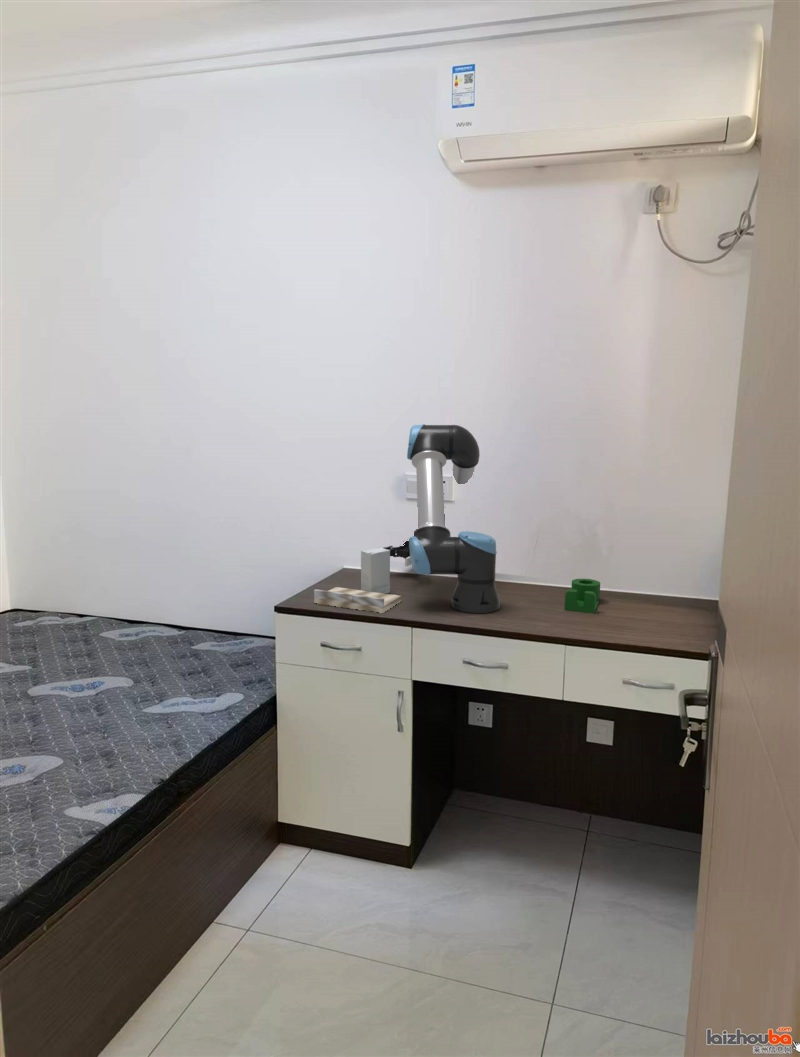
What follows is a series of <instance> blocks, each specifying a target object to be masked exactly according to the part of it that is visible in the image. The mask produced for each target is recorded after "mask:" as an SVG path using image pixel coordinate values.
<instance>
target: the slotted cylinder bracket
mask: <svg viewBox="0 0 800 1057" xmlns="http://www.w3.org/2000/svg"><path fill="white" fill-rule="evenodd" d="M600 593H601V582H600V581H599V580H596V579H590V578H575V579H572V580H571V588H570V589H567V591H566V592H565V595H564V611H569V612H577V613H585V614H592V615H593V614H595V613H596V611H597V609H598V606H599V604H600V596H601V595H600Z"/></svg>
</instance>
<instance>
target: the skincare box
mask: <svg viewBox="0 0 800 1057" xmlns="http://www.w3.org/2000/svg"><path fill="white" fill-rule="evenodd" d="M360 590H362V591H369V592H377V593H384V594H389V593H391V556H390V550H387V549H384V547H381V546H379V547H373V548H369V549H368V548H367V549H363V550H360Z"/></svg>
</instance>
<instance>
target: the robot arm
mask: <svg viewBox="0 0 800 1057" xmlns="http://www.w3.org/2000/svg"><path fill="white" fill-rule="evenodd" d="M480 455H481V454H480V447H479V445H478V441H477V439H476V438H475V437H474V435H473V434H472V433H471V432H470V431H469V430H468V429H467V428H465V427H463V426H461V425H457V424H447V425H446V424H425V423H423V424H413V425H412V426H411V427H410V430H409V436H408V445H407V452H406V458H407V460H410V461H411V464H412V466H413V467H414V468H416V469H415V470H416V471H415V472H416V494H417V495H416V499H417V500H416V503H417V507H418V529H416V530H415V531H414V536H413V535H412V536H410V537H409V538H408V539H409V541H406V542H405V543H404V544H405V545H404V544H403V545H404V546H400V545H399V546H395V547H394V546H393V545H389V546H385V547H383V548H384V549H387V550H390V557H393V558H403V559H404V566H405V567H410V566H411V568H412V570H413V572H414V573H415V574H418V575H426V576H431V575H432V576H433V575H457V583H456V586H455V589H454V591H453V594H452V597H451V603H450V604H451V605H450V606H451V607H452V608H453V609H454V610H457V611H460V612H464V613H470V614H471V613H472V614H487V613H492V612H496V611H498V610H500V608H501V606H500V605H501V601H500V596H499V592H498V590H497V586H496V562H497V560H496V559H497V558H496V557H497V554H498V553H497V552H498V551H497V542H496V539H495V537H492V536H491V535H488V534H484V533H480V532H478V531H477V532H475V531H459V533H458V536H451V531H450V529H449V528H446V527H445V514H444V508H445V498H444V495H445V494H444V493H445V492H444V479H443V478H444V476H443V475H444V474H443V467H445V465H446V464H447V461H449V460H450V461H451V463H452V471H453V476H454V478H455V480H456V482H457V483H458V484H465V483H467V482H468V480H469V479H470V478H471V477H472V475H473V472H474V473H475V468H476V466H478V464H479V461H480ZM473 476H474V475H473Z"/></svg>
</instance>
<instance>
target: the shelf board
mask: <svg viewBox="0 0 800 1057" xmlns="http://www.w3.org/2000/svg"><path fill="white" fill-rule="evenodd" d="M402 599H403V598H402V595H397V594H392V593H391V594H389V593H377V592H369V591H362V590H361V589H353V588H346V587H339V586H335V587H332V588H331V589H329V590H323V589H314V590H313V600H314V601H313V602H314V603H317V604H316V605H321V604H322V606H328V605H329V607H334V606H336V608H341V607H343V608H342V609H348V608H349V609H350V610H355V609H358V610H357V611H362V610H366V611H365V612H369V611H374V612H373V613H376V612H379V613H378V614H382V613H383V614H385V613H386V612H388V611H389V610H391V609H393V608H394V607H395V605H396V604H397V605H399V604H400V602H401V601H402ZM398 603H399V604H398ZM401 603H402V602H401ZM397 605H396V606H397ZM393 606H394V607H393ZM390 608H391V609H390ZM387 610H388V611H387ZM385 611H386V612H385Z"/></svg>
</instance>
